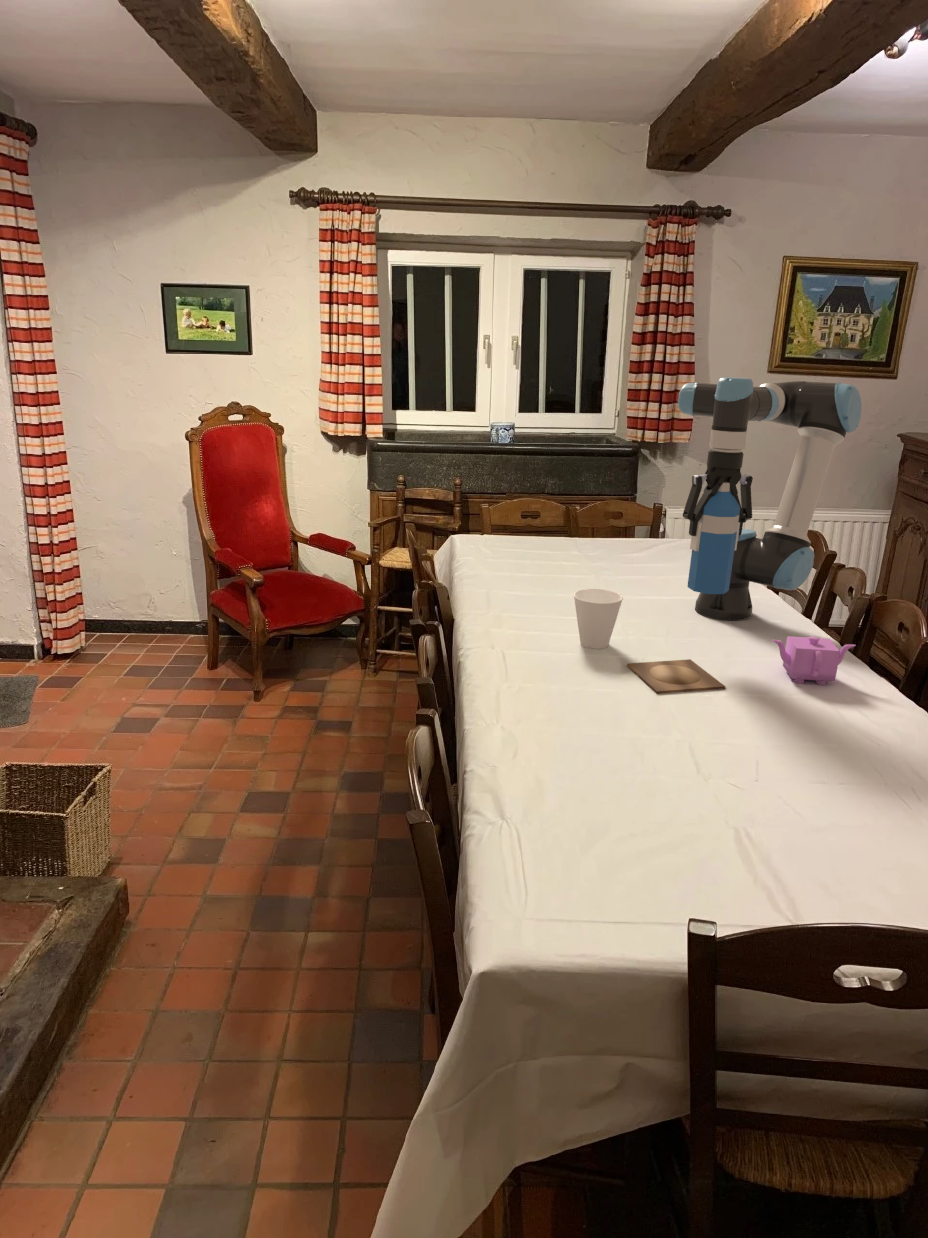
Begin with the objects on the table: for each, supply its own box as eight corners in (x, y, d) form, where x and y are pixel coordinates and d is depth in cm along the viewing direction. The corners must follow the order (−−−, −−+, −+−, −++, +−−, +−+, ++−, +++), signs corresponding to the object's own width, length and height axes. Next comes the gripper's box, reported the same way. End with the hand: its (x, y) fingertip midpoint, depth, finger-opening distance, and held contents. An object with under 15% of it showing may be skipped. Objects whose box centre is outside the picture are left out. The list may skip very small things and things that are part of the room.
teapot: (839, 668, 194) (846, 629, 191) (857, 691, 182) (865, 649, 178) (759, 663, 196) (765, 624, 193) (772, 685, 183) (778, 644, 180)
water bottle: (730, 596, 190) (746, 486, 182) (688, 592, 192) (701, 483, 184) (726, 585, 199) (741, 479, 191) (686, 581, 200) (699, 477, 192)
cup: (628, 644, 206) (632, 596, 202) (600, 656, 198) (604, 606, 194) (588, 632, 214) (591, 585, 210) (560, 643, 205) (563, 595, 201)
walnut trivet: (690, 661, 196) (690, 658, 196) (725, 688, 181) (725, 685, 181) (626, 665, 192) (626, 663, 192) (656, 694, 178) (657, 690, 177)
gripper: (760, 448, 191) (746, 544, 198) (673, 447, 186) (662, 546, 193) (779, 452, 184) (764, 552, 191) (689, 451, 179) (677, 554, 186)
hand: (713, 549), depth 192 cm, fingers closed on water bottle, 9 cm apart
